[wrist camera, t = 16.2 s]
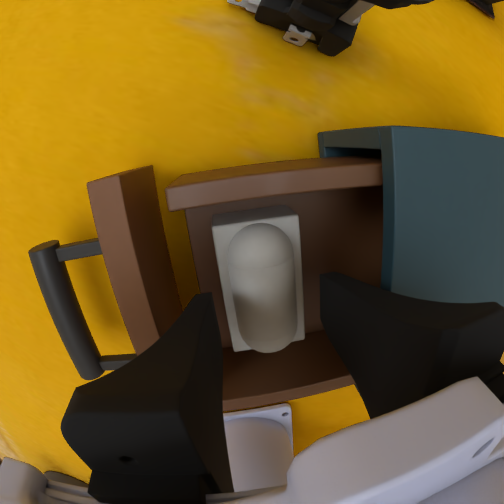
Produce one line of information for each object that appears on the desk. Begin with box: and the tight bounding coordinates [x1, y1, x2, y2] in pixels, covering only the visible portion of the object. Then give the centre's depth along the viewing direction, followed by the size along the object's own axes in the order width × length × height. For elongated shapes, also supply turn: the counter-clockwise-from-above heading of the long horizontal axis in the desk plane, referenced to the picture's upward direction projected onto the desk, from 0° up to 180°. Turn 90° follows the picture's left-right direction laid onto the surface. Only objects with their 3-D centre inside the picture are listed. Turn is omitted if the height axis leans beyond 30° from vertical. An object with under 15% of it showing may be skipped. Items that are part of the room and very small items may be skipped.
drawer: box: [28, 155, 383, 411], centre depth 13 cm, size 18×11×5 cm, turn 97°
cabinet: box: [318, 126, 504, 396], centre depth 14 cm, size 15×13×7 cm
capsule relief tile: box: [212, 205, 305, 353], centre depth 13 cm, size 6×3×4 cm, turn 7°
